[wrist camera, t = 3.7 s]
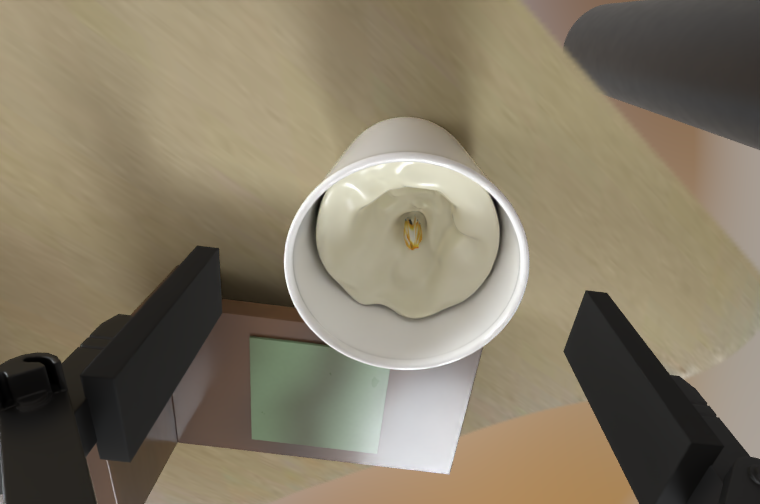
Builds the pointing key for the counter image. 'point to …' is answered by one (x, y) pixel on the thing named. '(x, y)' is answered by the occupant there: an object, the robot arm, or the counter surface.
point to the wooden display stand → (295, 404)
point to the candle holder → (406, 250)
